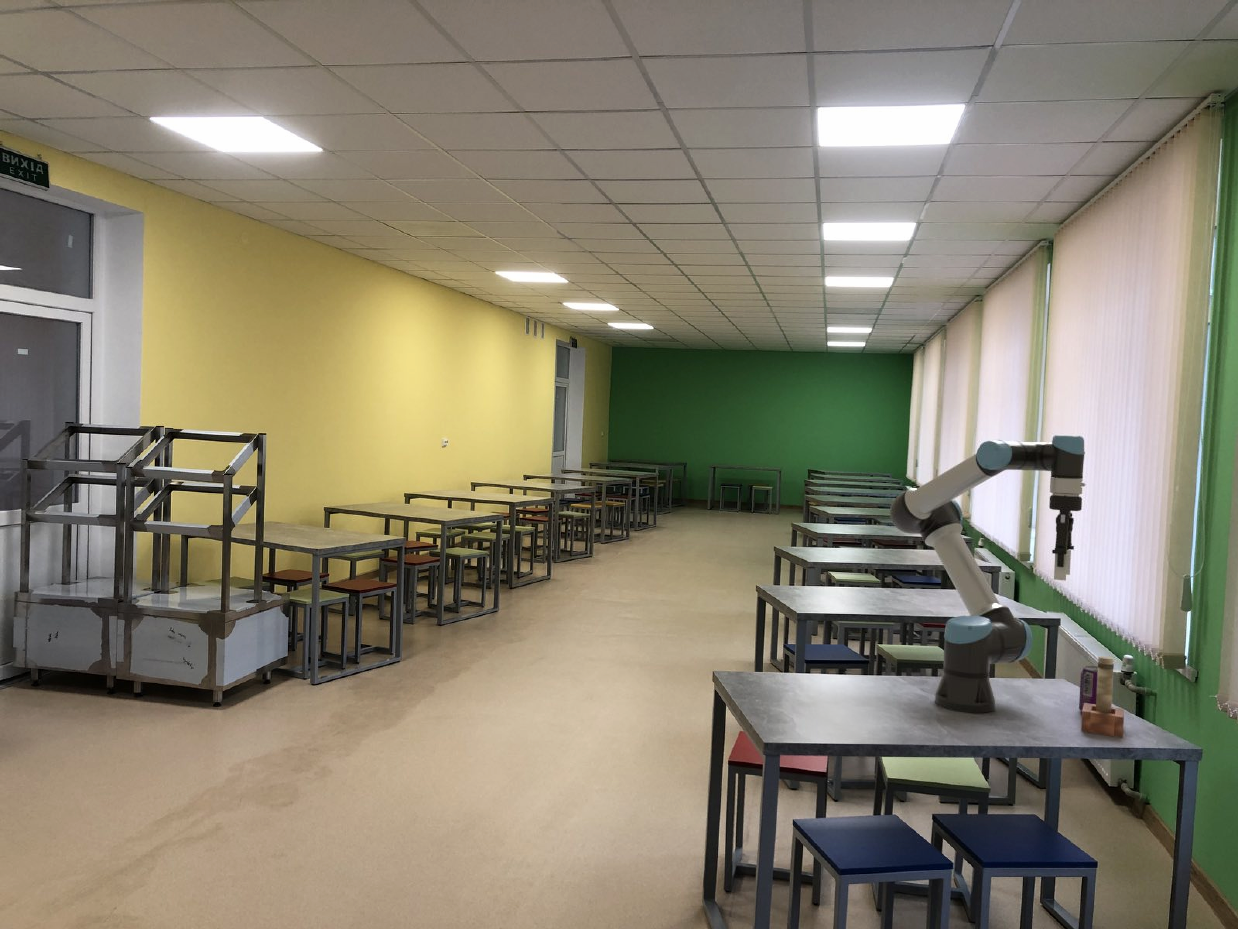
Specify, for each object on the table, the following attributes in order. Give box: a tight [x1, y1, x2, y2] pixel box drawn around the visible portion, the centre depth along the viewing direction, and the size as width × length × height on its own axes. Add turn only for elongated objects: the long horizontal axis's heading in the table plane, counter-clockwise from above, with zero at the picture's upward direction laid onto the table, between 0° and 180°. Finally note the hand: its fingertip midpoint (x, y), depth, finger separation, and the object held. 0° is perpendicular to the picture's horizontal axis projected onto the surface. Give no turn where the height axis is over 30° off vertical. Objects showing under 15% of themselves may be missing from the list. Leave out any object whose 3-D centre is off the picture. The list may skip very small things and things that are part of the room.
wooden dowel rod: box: [1096, 656, 1115, 714], centre depth 230 cm, size 4×4×18 cm
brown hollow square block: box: [1080, 703, 1125, 739], centre depth 230 cm, size 9×9×5 cm
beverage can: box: [1078, 665, 1098, 712], centre depth 245 cm, size 7×7×12 cm
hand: (1062, 577), depth 238 cm, fingers open, 13 cm apart
